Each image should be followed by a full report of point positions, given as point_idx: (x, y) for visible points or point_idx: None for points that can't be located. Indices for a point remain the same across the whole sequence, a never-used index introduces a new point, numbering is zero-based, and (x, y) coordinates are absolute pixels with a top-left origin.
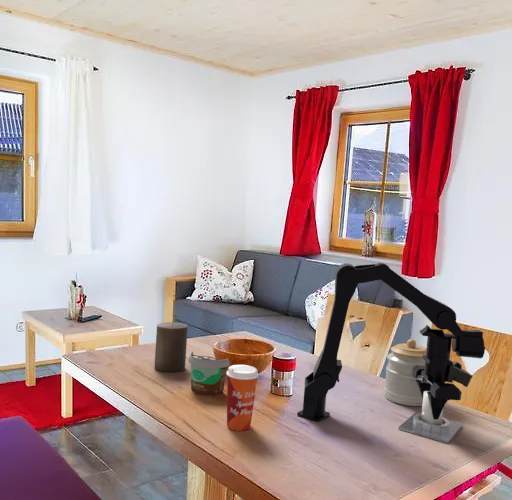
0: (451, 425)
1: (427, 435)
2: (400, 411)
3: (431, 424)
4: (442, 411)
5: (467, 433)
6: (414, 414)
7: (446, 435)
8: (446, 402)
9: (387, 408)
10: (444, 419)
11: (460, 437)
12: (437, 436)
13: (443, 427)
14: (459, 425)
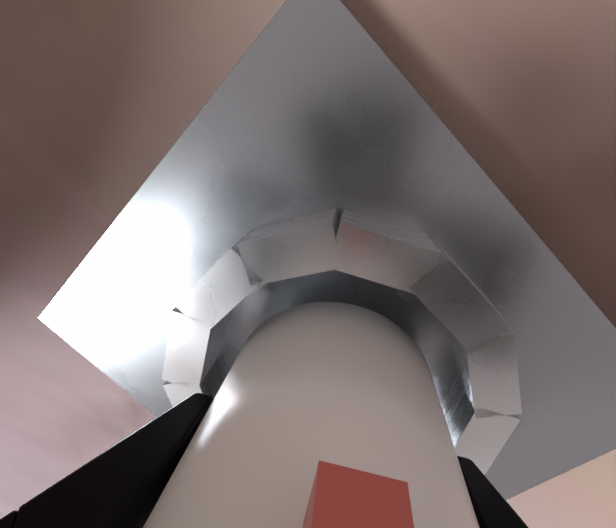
0: (347, 159)
1: (519, 493)
2: (34, 394)
3: None
4: (446, 457)
5: (512, 41)
6: (107, 366)
7: (569, 359)
8: (404, 505)
9: (3, 445)
10: (331, 261)
11: (584, 199)
12: (561, 438)
13: (516, 379)
14: (352, 49)
